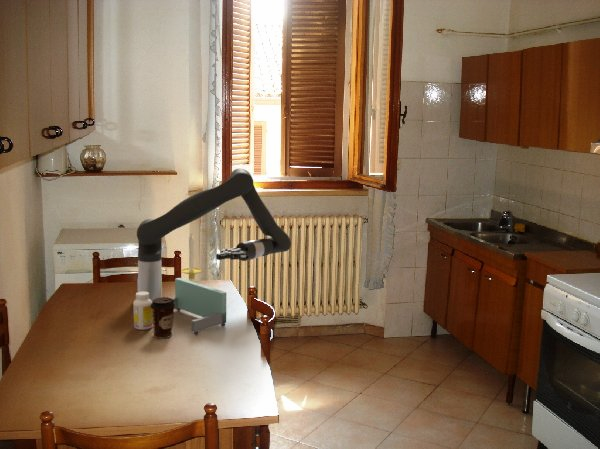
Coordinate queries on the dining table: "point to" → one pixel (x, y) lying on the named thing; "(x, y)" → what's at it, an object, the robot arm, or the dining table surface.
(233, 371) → the dining table surface
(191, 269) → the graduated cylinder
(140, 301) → the supplement bottle
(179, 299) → the teal panel stand
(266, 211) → the robot arm
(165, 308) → the coffee cup
